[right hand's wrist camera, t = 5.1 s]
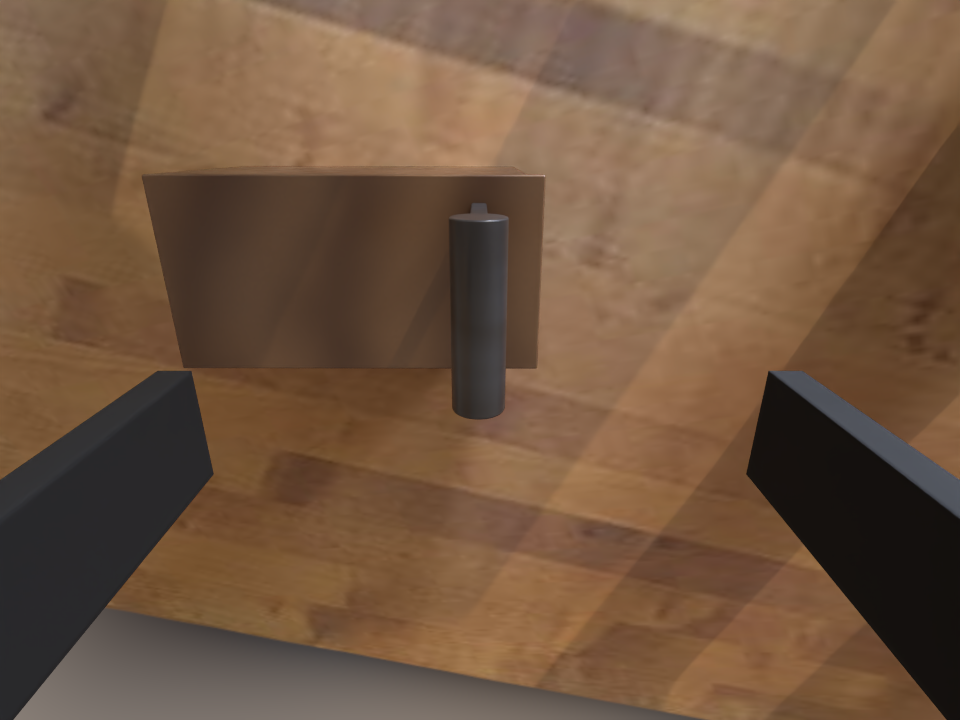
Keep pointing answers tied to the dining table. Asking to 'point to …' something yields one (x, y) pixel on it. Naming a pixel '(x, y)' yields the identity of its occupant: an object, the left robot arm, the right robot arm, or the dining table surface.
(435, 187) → the lid
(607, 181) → the dining table surface
